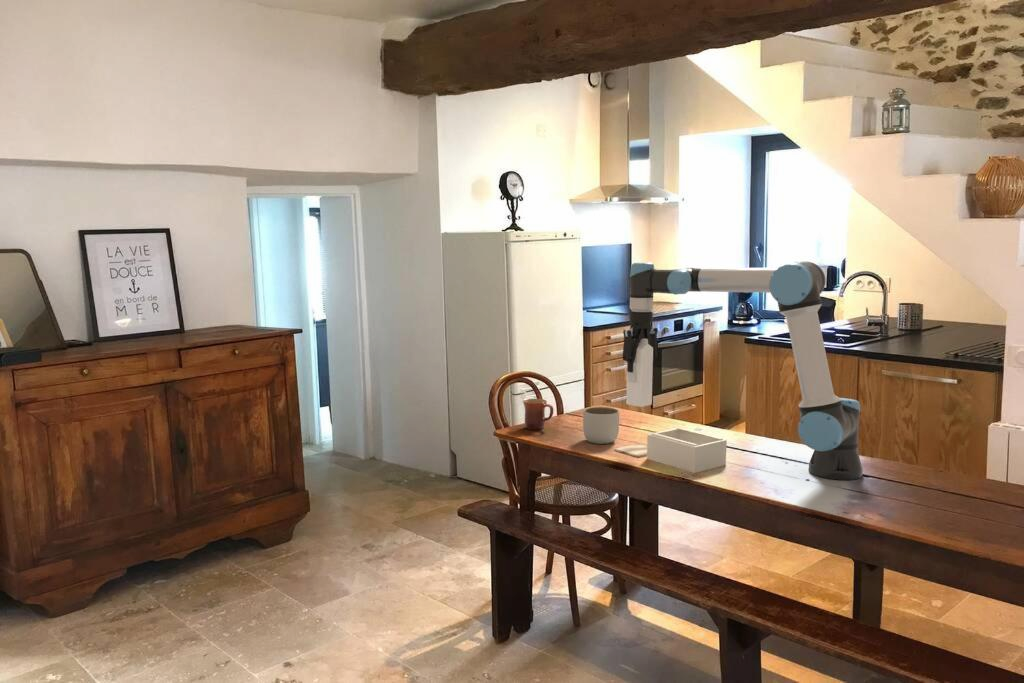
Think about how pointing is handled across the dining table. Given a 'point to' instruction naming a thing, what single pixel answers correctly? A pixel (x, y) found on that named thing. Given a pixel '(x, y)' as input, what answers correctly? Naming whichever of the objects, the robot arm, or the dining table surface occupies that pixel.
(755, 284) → the robot arm
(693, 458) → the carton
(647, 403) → the milk
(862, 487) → the dining table surface
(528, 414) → the mug
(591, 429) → the planter
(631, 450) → the mat
